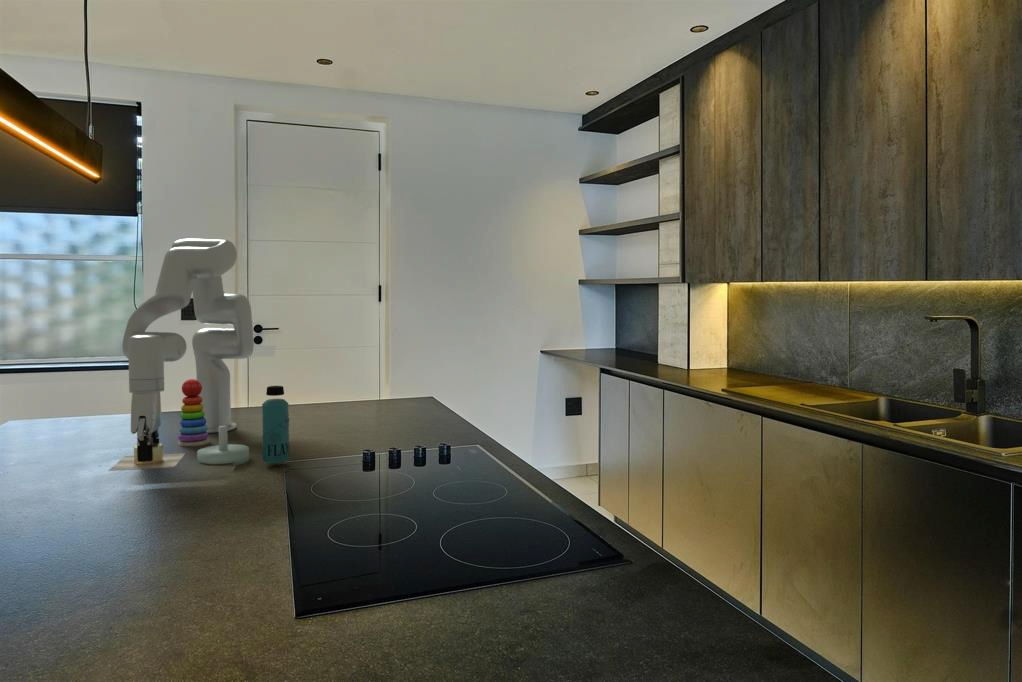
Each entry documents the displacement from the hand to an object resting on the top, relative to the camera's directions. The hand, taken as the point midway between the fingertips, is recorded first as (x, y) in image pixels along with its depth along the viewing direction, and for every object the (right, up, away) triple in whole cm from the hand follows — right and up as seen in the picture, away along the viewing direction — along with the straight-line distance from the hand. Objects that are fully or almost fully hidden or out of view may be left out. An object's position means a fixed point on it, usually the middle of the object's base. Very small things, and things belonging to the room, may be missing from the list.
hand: (148, 457), depth 161 cm
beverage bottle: (+31, -3, +2) cm, 31 cm away
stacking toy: (+1, -1, +20) cm, 20 cm away
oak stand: (0, -2, 0) cm, 2 cm away
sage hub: (+16, -2, +5) cm, 17 cm away
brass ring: (0, -1, 0) cm, 1 cm away
